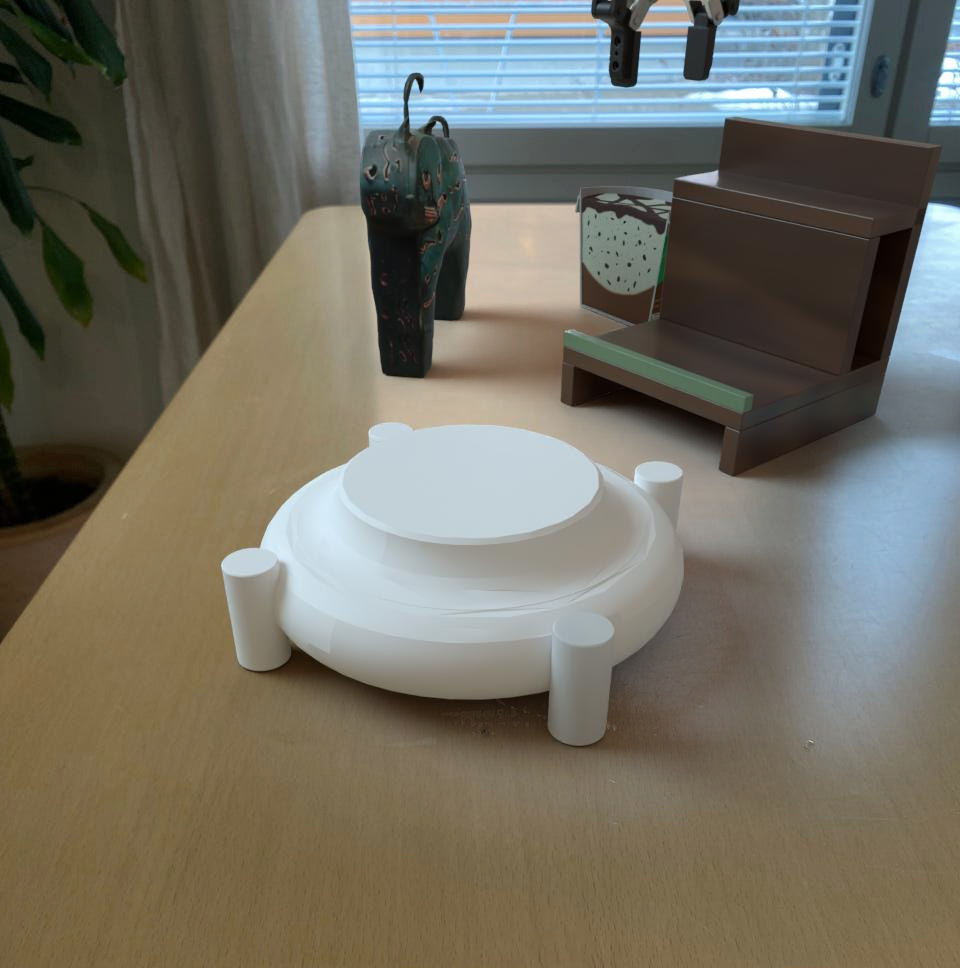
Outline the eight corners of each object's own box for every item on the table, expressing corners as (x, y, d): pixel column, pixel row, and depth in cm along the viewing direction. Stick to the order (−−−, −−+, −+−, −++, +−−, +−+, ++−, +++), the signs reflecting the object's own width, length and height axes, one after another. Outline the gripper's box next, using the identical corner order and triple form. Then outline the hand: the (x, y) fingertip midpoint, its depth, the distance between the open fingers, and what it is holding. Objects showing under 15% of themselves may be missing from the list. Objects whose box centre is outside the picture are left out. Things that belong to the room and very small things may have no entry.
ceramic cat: (432, 387, 74) (423, 86, 62) (350, 381, 75) (326, 83, 64) (483, 309, 90) (484, 57, 78) (415, 305, 91) (406, 56, 79)
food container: (711, 325, 86) (728, 203, 81) (659, 338, 83) (673, 213, 78) (619, 291, 95) (629, 179, 89) (569, 302, 92) (576, 187, 86)
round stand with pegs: (316, 834, 37) (295, 685, 33) (186, 546, 54) (162, 425, 50) (815, 671, 45) (849, 536, 41) (562, 467, 63) (568, 358, 59)
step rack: (703, 354, 80) (735, 116, 70) (875, 414, 70) (943, 145, 60) (560, 401, 72) (573, 138, 62) (732, 476, 62) (782, 177, 52)
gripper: (657, -193, 63) (633, 94, 72) (792, -177, 70) (754, 81, 80) (576, -184, 67) (563, 85, 77) (710, -170, 75) (683, 73, 84)
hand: (660, 83), depth 78 cm, fingers open, 8 cm apart
